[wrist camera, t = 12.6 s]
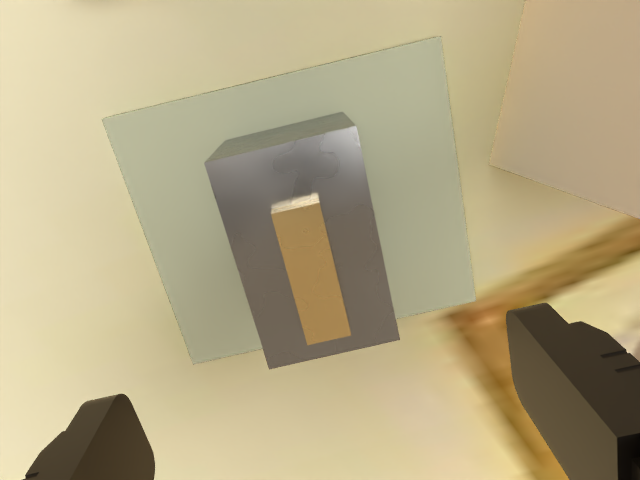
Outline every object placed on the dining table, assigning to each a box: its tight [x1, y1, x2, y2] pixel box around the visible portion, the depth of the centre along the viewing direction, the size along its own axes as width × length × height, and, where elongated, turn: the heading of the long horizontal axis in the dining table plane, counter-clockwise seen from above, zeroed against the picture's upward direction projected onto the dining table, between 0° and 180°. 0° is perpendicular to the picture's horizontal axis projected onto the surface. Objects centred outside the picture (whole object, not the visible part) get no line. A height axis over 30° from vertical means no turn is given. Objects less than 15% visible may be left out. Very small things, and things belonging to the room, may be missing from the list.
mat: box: [102, 36, 476, 364], centre depth 22 cm, size 14×12×1 cm
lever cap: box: [204, 111, 400, 369], centre depth 19 cm, size 5×8×6 cm, turn 13°
